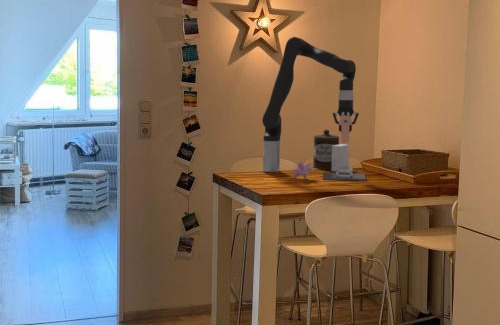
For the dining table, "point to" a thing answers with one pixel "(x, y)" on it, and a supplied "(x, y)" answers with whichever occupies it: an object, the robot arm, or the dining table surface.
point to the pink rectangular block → (345, 129)
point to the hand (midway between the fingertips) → (345, 131)
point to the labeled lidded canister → (324, 150)
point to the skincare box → (340, 156)
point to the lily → (302, 170)
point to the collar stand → (344, 175)
